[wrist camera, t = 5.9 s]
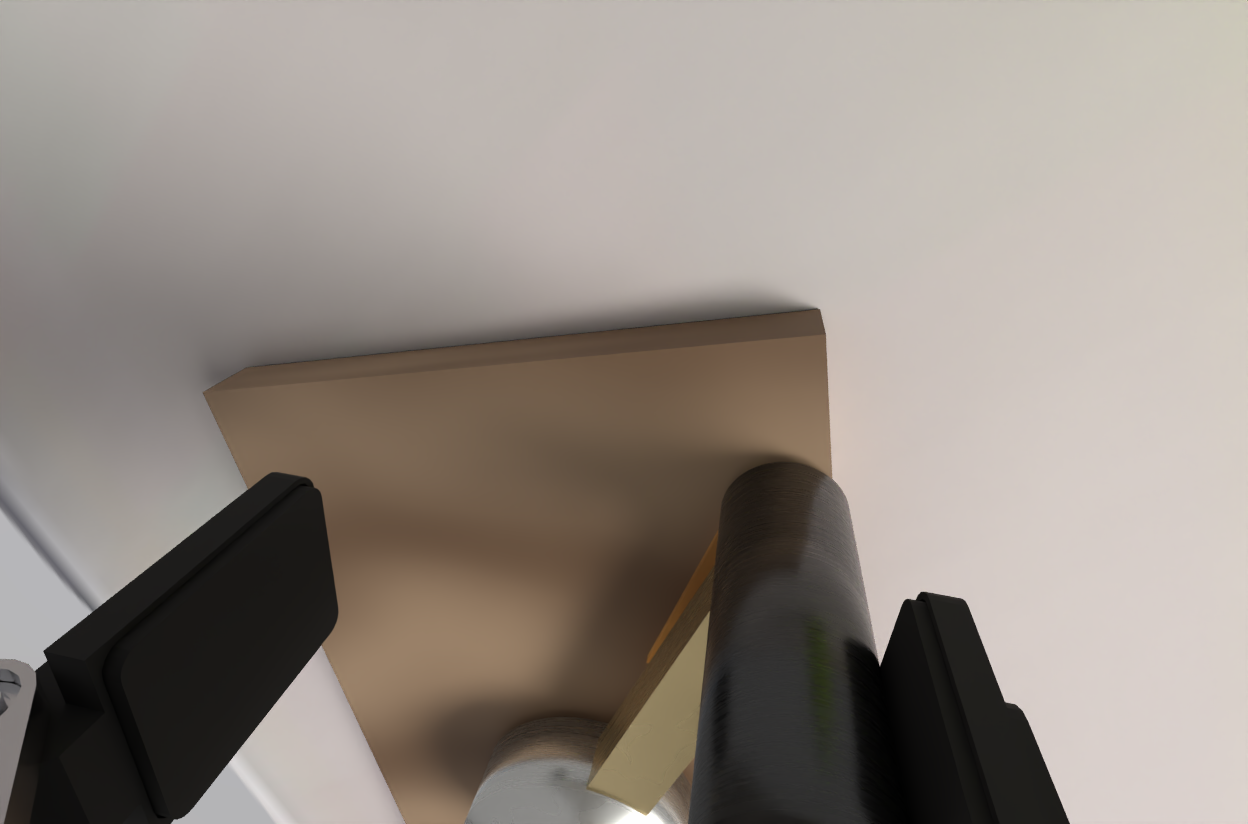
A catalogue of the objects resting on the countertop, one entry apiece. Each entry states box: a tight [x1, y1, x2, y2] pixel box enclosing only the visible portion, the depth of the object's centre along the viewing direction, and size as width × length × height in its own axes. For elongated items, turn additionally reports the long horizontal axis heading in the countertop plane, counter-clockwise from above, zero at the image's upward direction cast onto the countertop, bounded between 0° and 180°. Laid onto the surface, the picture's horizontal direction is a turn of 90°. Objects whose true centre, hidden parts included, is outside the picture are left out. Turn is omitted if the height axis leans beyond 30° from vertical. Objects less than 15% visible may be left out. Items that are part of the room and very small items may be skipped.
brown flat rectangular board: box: [203, 309, 832, 824], centre depth 20 cm, size 26×14×2 cm, turn 10°
